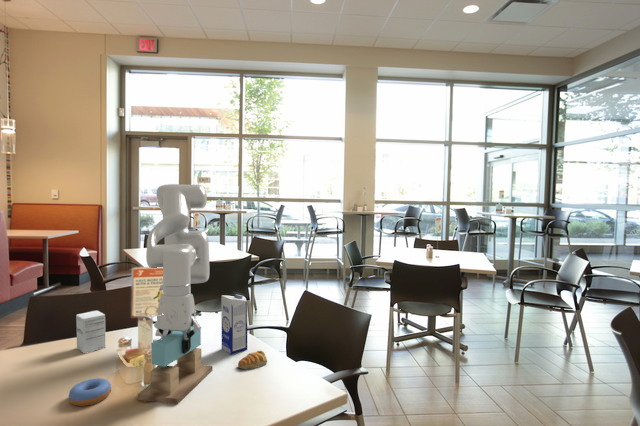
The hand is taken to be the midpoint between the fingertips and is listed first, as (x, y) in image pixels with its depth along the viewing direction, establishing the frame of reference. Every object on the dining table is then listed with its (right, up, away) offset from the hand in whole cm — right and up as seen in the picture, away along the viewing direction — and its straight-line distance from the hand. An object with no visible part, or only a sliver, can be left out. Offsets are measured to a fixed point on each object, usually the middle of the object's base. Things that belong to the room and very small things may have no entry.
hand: (177, 350), depth 112 cm
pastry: (+20, -10, +14) cm, 26 cm away
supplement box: (-41, -9, +26) cm, 49 cm away
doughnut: (-21, -11, -7) cm, 25 cm away
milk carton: (+11, -9, +26) cm, 30 cm away
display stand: (0, -10, 0) cm, 10 cm away
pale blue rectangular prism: (0, -1, 0) cm, 1 cm away
